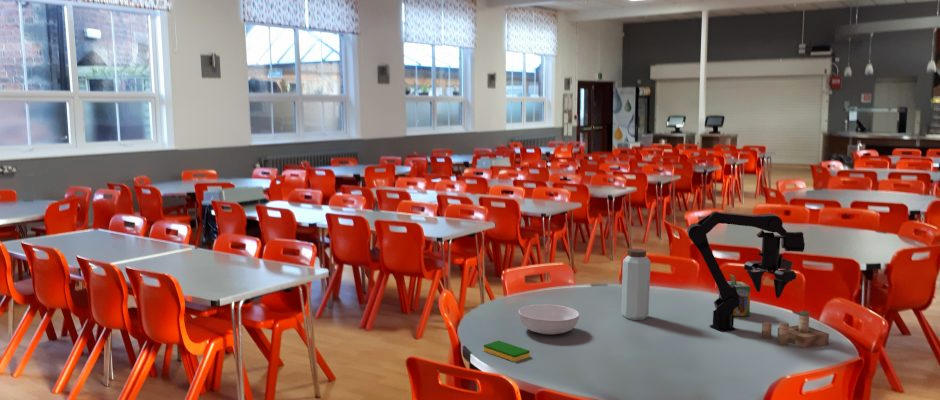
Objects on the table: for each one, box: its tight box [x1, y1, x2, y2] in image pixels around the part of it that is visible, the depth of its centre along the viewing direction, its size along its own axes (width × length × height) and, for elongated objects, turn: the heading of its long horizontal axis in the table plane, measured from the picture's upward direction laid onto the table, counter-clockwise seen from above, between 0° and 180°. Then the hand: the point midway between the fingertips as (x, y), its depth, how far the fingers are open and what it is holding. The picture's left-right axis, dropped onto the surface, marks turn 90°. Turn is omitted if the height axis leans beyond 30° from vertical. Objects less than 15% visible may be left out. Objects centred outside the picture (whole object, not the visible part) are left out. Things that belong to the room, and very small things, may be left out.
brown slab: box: [777, 324, 830, 349], centre depth 249 cm, size 11×11×4 cm
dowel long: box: [798, 310, 810, 333], centre depth 248 cm, size 3×3×10 cm
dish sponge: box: [483, 340, 531, 363], centre depth 234 cm, size 7×14×2 cm, turn 43°
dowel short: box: [761, 321, 773, 340], centre depth 252 cm, size 3×3×5 cm
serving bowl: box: [518, 303, 580, 336], centre depth 258 cm, size 21×21×7 cm
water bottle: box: [620, 248, 651, 321], centre depth 274 cm, size 10×10×25 cm
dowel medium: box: [777, 321, 790, 346], centre depth 245 cm, size 3×3×7 cm
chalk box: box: [718, 273, 751, 317], centre depth 281 cm, size 9×9×15 cm
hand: (768, 294), depth 258 cm, fingers open, 9 cm apart
